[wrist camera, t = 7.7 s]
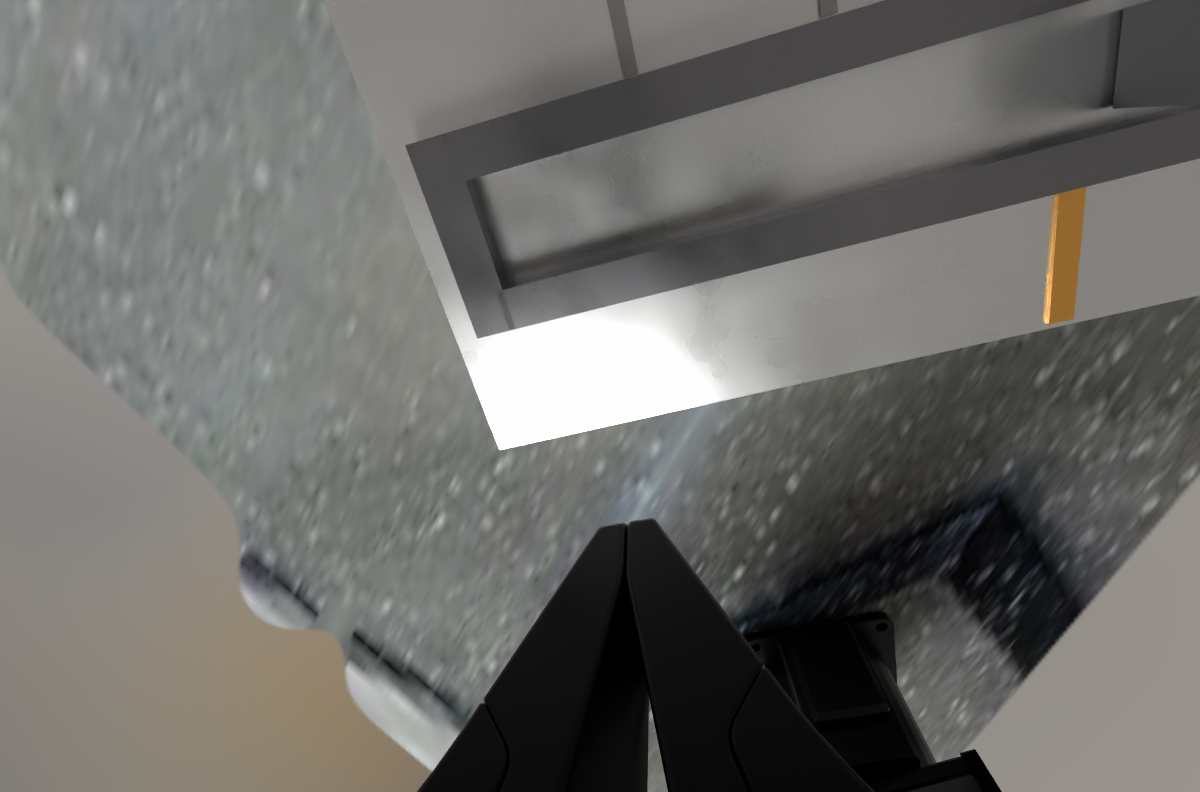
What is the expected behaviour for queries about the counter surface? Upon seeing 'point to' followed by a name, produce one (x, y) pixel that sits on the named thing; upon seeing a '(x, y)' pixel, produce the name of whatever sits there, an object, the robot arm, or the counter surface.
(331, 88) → the counter surface
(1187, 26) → the fader tab
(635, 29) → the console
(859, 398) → the counter surface
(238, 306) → the counter surface
